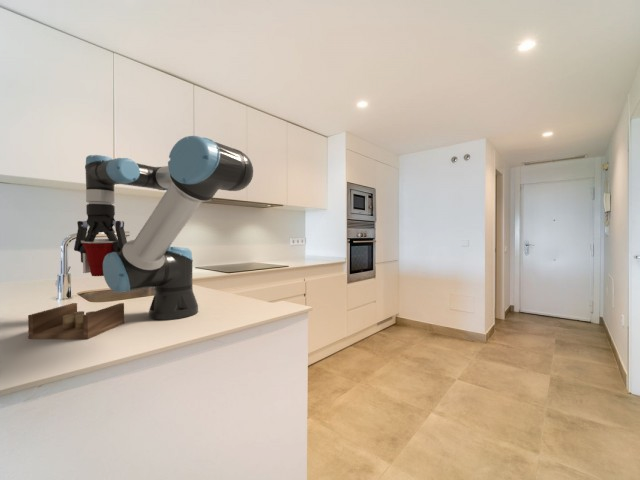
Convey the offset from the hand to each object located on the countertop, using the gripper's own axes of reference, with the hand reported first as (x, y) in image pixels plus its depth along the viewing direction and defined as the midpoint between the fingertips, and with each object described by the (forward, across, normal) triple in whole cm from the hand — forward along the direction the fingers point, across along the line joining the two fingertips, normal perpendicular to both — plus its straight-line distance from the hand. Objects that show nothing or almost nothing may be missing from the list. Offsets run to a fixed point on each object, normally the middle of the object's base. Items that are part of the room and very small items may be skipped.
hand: (102, 272), depth 99 cm
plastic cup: (+1, 0, 0) cm, 1 cm away
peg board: (+15, -3, +14) cm, 20 cm away
